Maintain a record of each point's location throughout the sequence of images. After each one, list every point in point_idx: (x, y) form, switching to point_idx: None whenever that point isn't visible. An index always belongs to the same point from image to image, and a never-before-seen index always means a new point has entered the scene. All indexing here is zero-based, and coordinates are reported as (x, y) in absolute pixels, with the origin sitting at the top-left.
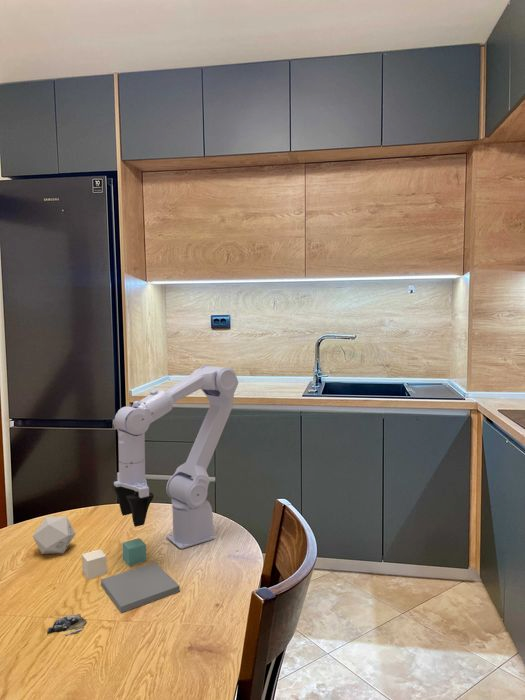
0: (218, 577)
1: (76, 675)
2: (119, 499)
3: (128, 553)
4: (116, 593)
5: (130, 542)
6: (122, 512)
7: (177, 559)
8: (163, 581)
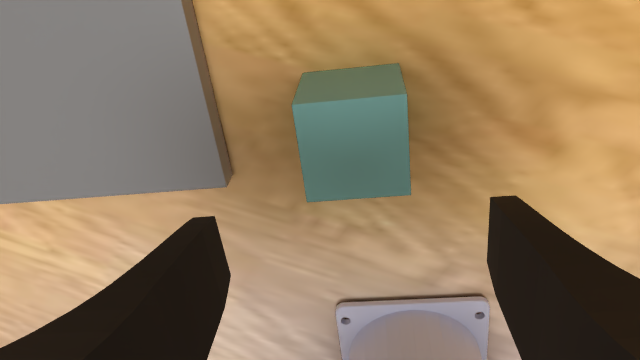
0: None
1: None
2: (558, 281)
3: (300, 94)
4: None
5: (380, 137)
6: (500, 210)
7: (261, 265)
8: (35, 163)
